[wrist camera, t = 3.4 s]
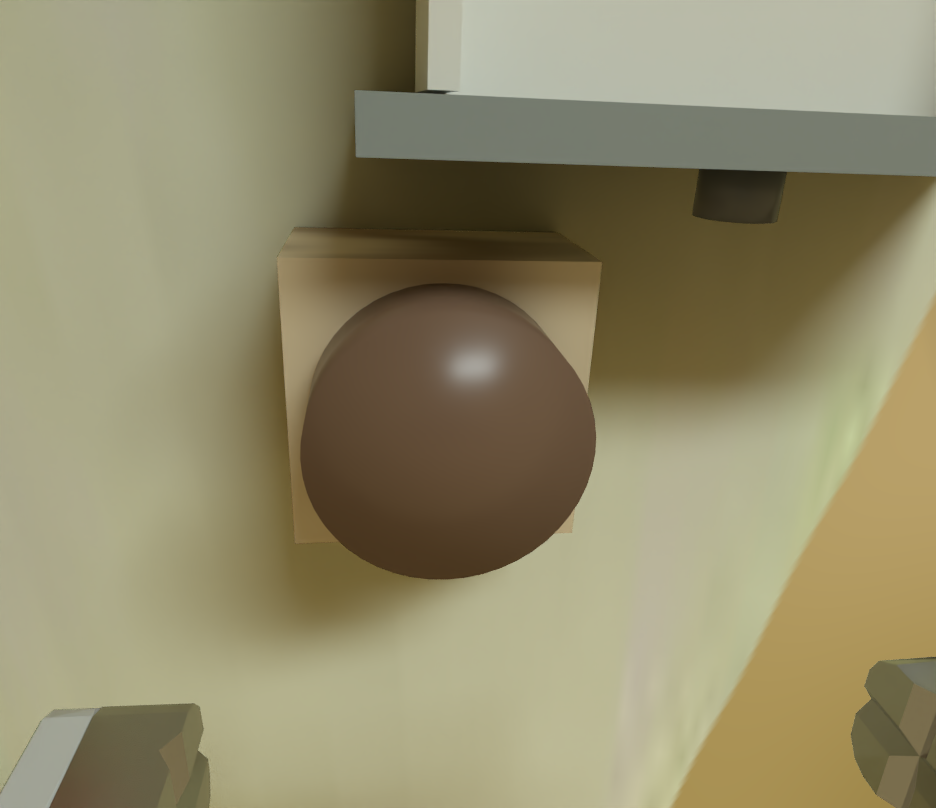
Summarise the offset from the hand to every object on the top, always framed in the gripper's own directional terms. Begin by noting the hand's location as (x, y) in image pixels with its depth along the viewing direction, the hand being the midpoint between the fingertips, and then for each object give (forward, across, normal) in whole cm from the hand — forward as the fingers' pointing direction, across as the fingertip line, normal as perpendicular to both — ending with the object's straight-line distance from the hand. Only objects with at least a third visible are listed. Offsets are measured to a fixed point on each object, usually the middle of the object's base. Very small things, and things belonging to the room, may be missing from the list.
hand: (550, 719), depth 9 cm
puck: (+9, +1, 0) cm, 9 cm away
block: (+13, +1, 0) cm, 13 cm away
